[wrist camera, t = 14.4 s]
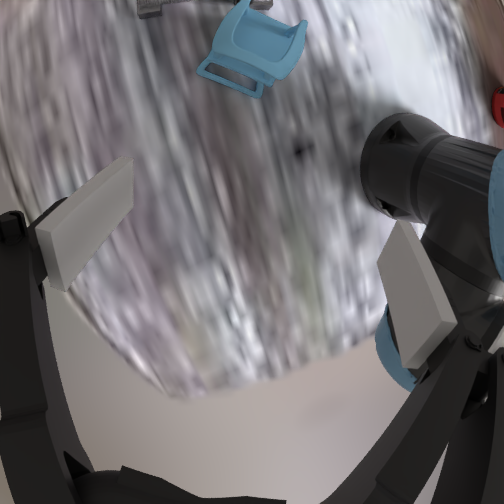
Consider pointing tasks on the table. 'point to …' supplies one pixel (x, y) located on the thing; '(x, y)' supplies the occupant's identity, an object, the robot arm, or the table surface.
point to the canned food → (498, 106)
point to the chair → (254, 48)
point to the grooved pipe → (151, 3)
